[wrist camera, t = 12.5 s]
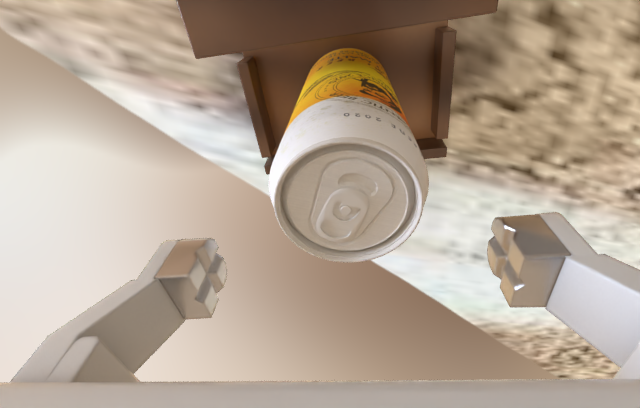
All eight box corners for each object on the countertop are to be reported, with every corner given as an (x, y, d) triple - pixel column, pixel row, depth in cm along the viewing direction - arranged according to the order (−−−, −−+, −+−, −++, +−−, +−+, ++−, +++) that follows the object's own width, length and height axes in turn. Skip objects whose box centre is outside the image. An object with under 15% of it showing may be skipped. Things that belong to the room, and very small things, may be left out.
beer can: (403, 66, 22) (473, 168, 10) (366, 141, 26) (385, 286, 14) (322, 31, 22) (291, 97, 9) (295, 113, 25) (245, 242, 13)
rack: (220, -61, 20) (146, -86, 13) (450, -108, 18) (522, -171, 11) (274, 155, 29) (248, 217, 21) (435, 138, 27) (470, 199, 19)
